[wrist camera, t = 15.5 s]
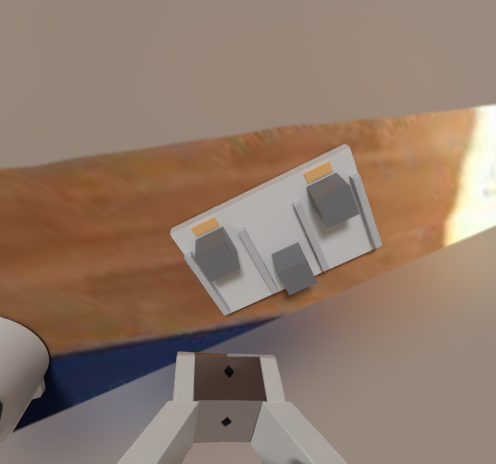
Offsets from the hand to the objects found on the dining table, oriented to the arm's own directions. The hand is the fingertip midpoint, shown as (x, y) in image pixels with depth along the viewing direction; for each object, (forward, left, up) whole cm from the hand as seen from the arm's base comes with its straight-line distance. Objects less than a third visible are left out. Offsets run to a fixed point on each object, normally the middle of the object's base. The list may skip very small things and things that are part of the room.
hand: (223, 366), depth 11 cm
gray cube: (-5, -11, -28) cm, 30 cm away
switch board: (+2, -14, -29) cm, 32 cm away
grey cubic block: (+2, -17, -28) cm, 32 cm away
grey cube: (+9, -11, -28) cm, 31 cm away
